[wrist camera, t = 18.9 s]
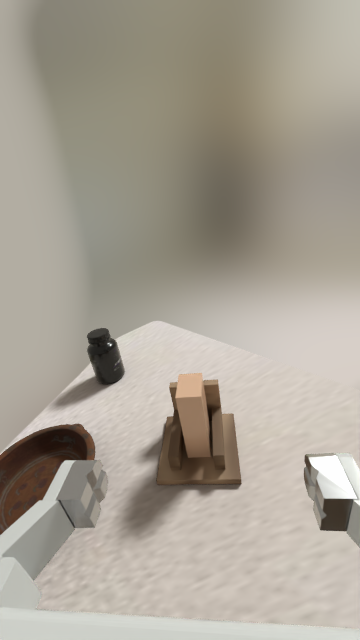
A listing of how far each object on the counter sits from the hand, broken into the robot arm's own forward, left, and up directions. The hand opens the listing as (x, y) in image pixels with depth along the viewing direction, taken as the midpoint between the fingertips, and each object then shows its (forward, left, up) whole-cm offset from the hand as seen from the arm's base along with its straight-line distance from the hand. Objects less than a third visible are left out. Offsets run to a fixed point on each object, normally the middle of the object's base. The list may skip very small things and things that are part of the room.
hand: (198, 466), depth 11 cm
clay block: (+4, -23, -27) cm, 36 cm away
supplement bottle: (+26, -44, -28) cm, 58 cm away
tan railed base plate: (+4, -23, -28) cm, 37 cm away
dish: (+27, -16, -28) cm, 43 cm away
